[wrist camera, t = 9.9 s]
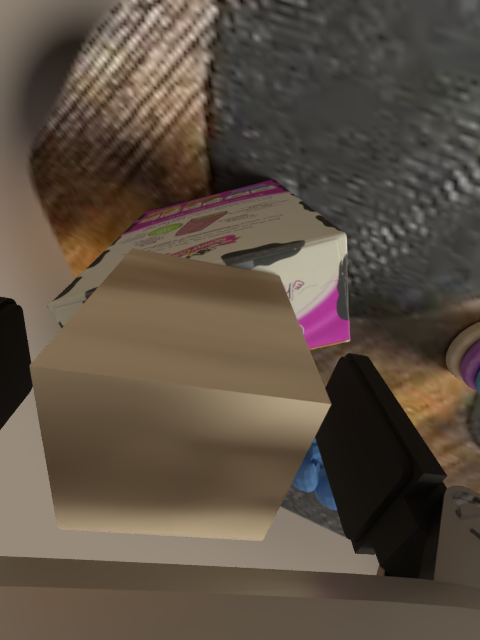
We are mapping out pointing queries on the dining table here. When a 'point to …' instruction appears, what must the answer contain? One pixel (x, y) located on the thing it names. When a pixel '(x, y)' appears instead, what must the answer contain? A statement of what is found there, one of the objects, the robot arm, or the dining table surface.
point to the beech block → (177, 401)
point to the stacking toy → (466, 356)
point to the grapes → (314, 477)
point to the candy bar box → (242, 252)
